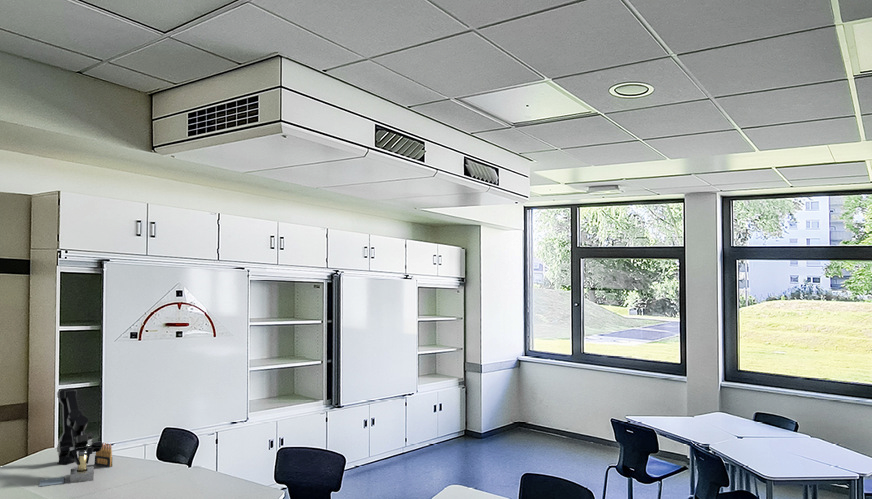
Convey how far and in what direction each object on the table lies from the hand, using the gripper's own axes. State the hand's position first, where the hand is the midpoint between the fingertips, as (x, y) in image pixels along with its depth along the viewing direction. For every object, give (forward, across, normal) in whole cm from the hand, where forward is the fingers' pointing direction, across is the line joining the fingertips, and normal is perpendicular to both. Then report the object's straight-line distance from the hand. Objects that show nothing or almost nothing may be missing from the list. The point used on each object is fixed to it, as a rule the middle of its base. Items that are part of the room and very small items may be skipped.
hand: (83, 464), depth 310 cm
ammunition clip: (-7, +14, +18) cm, 23 cm away
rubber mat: (+2, -12, +8) cm, 15 cm away
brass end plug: (+4, 0, +6) cm, 7 cm away
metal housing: (+4, 0, +6) cm, 7 cm away
